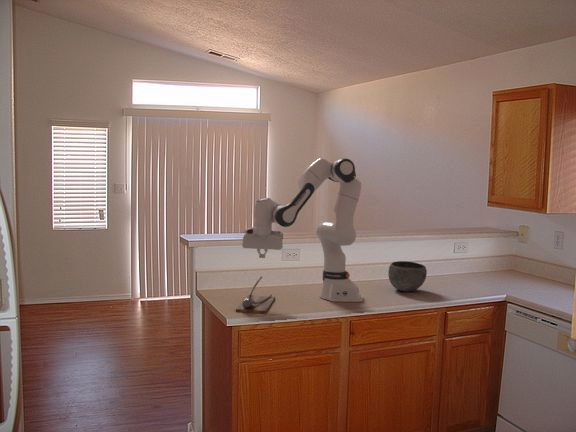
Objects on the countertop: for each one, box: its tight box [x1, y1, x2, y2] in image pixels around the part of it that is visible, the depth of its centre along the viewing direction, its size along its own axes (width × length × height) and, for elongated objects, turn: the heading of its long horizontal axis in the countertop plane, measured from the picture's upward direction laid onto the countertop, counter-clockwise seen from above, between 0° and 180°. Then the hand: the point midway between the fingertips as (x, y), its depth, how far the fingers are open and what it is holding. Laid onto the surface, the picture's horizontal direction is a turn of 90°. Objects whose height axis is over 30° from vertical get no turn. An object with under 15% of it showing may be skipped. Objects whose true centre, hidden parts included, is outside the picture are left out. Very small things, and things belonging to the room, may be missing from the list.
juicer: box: [241, 276, 273, 309], centre depth 280 cm, size 10×11×30 cm
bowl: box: [388, 260, 428, 293], centre depth 319 cm, size 21×21×15 cm
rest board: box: [235, 294, 276, 314], centre depth 280 cm, size 14×28×1 cm, turn 172°
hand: (262, 257), depth 290 cm, fingers closed
